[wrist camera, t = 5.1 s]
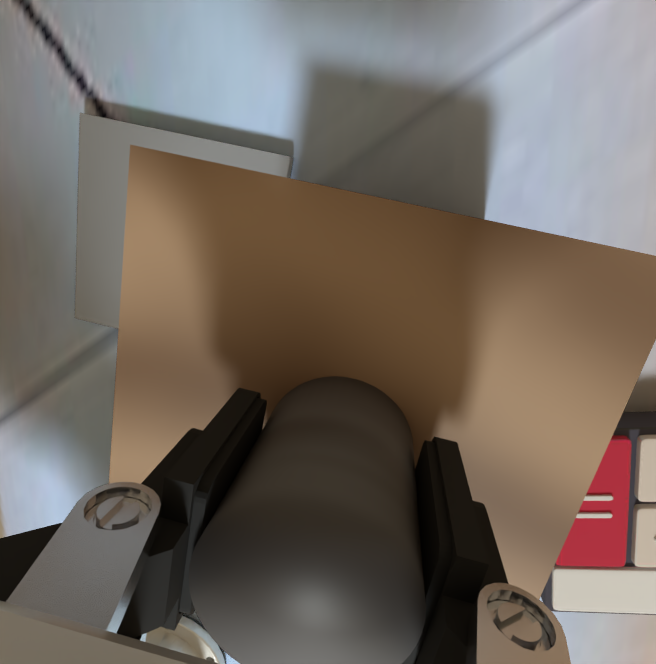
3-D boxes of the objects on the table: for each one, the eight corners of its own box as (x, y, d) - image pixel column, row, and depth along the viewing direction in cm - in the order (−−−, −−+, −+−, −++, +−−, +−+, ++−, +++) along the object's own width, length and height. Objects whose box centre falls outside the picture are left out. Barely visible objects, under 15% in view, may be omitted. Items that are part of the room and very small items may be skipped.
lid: (489, 623, 16) (560, 936, 9) (136, 524, 17) (-36, 741, 10) (641, 253, 12) (969, 321, 5) (169, 153, 13) (-78, 99, 6)
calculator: (734, 430, 28) (714, 627, 32) (691, 404, 33) (677, 580, 36) (549, 435, 30) (548, 620, 34) (530, 410, 34) (531, 577, 38)
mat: (260, 358, 35) (256, 363, 34) (83, 315, 36) (74, 318, 36) (293, 157, 31) (290, 156, 30) (89, 115, 32) (79, 112, 31)
